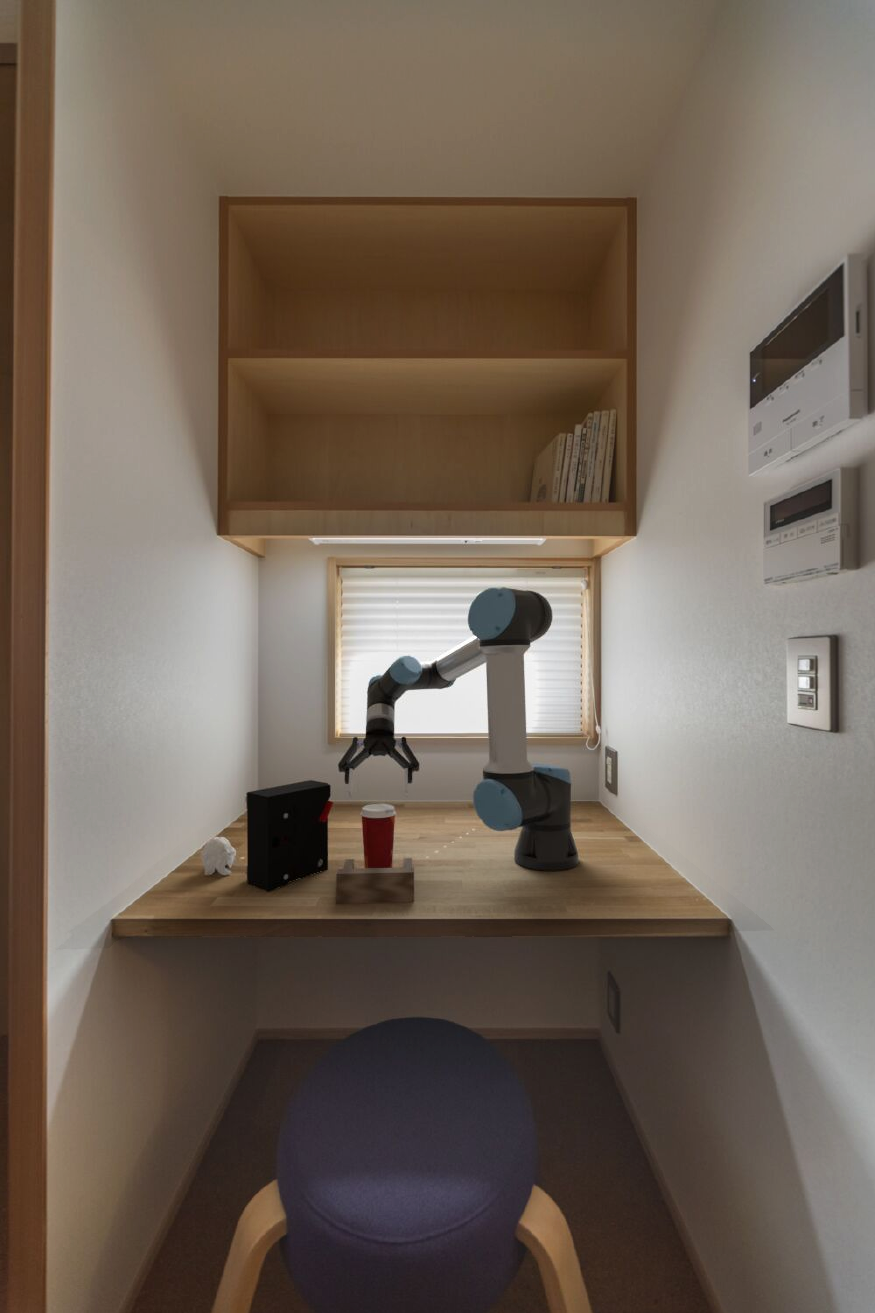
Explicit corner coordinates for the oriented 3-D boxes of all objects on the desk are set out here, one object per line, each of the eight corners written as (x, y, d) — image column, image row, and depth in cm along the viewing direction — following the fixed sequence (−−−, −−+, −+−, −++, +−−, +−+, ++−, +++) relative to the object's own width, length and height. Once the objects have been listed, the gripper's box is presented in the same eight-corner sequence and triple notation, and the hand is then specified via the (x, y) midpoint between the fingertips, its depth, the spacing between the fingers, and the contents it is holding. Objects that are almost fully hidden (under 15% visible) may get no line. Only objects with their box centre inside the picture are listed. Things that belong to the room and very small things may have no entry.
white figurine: (199, 839, 146) (218, 830, 158) (198, 878, 145) (216, 866, 157) (227, 839, 146) (244, 830, 158) (226, 879, 145) (243, 866, 157)
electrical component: (305, 862, 157) (304, 778, 157) (333, 871, 151) (333, 784, 151) (241, 882, 144) (241, 790, 144) (270, 892, 137) (269, 797, 137)
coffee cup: (404, 872, 150) (403, 807, 150) (377, 882, 144) (376, 813, 144) (379, 864, 155) (379, 801, 155) (352, 873, 149) (352, 807, 149)
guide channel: (412, 866, 154) (412, 841, 154) (414, 902, 132) (414, 872, 132) (345, 867, 153) (345, 842, 153) (336, 903, 131) (336, 873, 131)
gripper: (426, 733, 178) (429, 801, 163) (334, 734, 176) (327, 802, 161) (427, 715, 172) (429, 784, 157) (331, 716, 171) (325, 785, 156)
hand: (378, 794), depth 159 cm, fingers open, 13 cm apart
